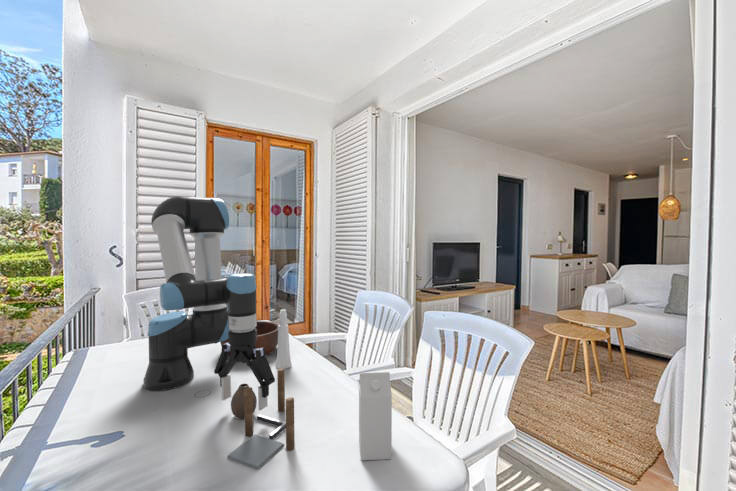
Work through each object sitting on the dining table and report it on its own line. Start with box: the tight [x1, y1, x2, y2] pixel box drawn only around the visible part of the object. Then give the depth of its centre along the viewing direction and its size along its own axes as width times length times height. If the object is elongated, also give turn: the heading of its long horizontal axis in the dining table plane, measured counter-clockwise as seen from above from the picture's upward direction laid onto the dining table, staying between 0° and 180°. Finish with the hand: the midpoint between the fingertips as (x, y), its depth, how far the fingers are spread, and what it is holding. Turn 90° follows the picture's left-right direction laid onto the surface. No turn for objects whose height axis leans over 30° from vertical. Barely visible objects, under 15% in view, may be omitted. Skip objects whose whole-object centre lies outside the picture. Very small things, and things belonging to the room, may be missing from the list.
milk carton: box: [358, 371, 393, 461], centre depth 81 cm, size 7×7×19 cm
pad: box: [226, 434, 284, 470], centre depth 81 cm, size 9×9×1 cm
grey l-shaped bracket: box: [256, 414, 286, 440], centre depth 90 cm, size 10×6×1 cm, turn 66°
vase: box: [230, 383, 258, 420], centre depth 97 cm, size 7×7×9 cm
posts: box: [244, 368, 296, 452], centre depth 91 cm, size 15×15×12 cm
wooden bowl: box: [219, 320, 279, 360], centre depth 148 cm, size 25×25×10 cm
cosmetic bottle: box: [275, 308, 293, 370], centre depth 132 cm, size 6×6×22 cm
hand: (244, 403), depth 97 cm, fingers open, 13 cm apart
